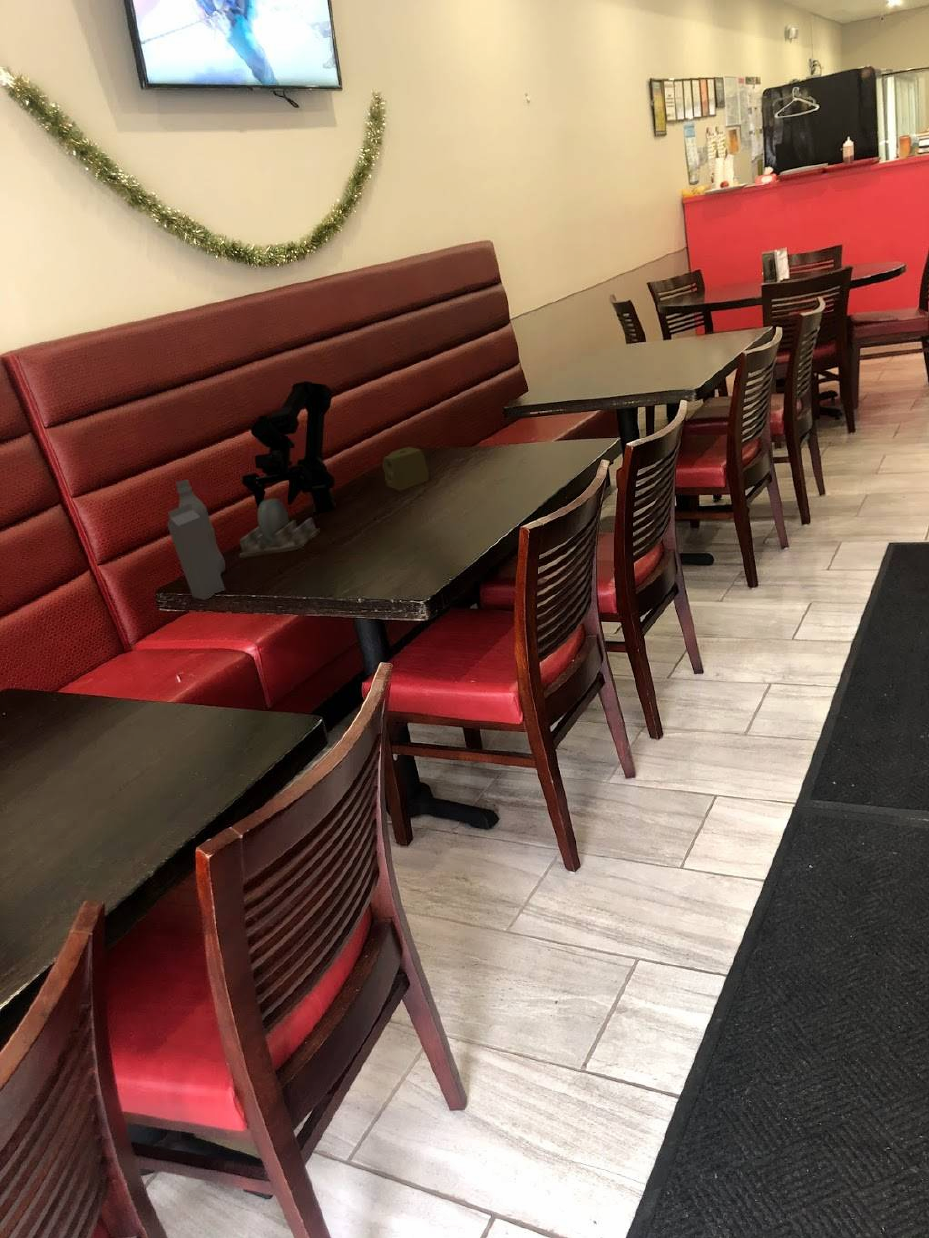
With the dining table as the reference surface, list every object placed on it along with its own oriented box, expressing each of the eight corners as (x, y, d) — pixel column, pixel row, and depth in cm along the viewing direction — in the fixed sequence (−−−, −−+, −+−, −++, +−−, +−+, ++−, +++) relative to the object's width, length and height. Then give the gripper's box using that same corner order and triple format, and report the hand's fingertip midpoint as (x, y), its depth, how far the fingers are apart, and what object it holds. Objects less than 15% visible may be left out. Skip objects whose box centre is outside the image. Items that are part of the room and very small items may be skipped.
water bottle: (220, 578, 249) (187, 483, 241) (195, 582, 251) (162, 488, 242) (232, 567, 256) (200, 475, 247) (207, 571, 258) (175, 480, 249)
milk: (225, 591, 238) (196, 503, 230) (204, 600, 235) (173, 512, 227) (213, 588, 242) (184, 502, 235) (192, 597, 239) (162, 511, 231)
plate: (284, 534, 271) (272, 494, 267) (293, 533, 270) (280, 492, 266) (266, 549, 261) (252, 507, 257) (275, 548, 260) (261, 506, 256)
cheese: (387, 487, 300) (378, 455, 297) (419, 476, 304) (410, 445, 300) (398, 492, 291) (390, 459, 287) (431, 481, 294) (423, 448, 291)
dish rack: (263, 540, 275) (258, 524, 274) (320, 531, 269) (316, 515, 268) (240, 558, 263) (234, 542, 261) (299, 549, 257) (294, 533, 255)
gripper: (233, 446, 266) (227, 498, 261) (294, 435, 260) (289, 488, 255) (255, 466, 276) (250, 516, 271) (315, 455, 270) (310, 507, 264)
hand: (274, 506), depth 265 cm, fingers open, 9 cm apart
